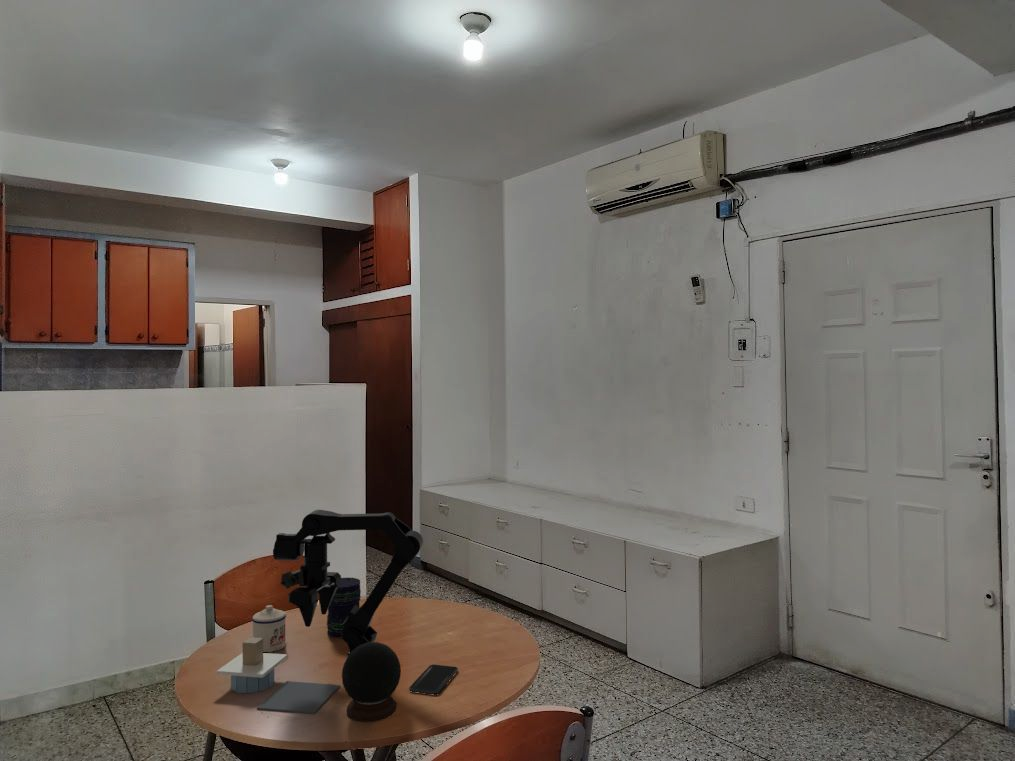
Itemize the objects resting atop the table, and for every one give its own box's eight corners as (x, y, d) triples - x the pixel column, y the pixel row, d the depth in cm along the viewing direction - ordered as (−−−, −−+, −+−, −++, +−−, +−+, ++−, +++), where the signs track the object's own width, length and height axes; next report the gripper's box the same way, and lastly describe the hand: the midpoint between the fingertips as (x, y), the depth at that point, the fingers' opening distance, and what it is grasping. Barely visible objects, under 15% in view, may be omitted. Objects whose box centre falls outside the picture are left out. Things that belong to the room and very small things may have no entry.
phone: (407, 689, 164) (431, 664, 179) (407, 693, 164) (431, 668, 179) (438, 692, 162) (459, 667, 177) (438, 697, 162) (459, 671, 177)
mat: (340, 686, 167) (340, 685, 167) (314, 714, 153) (314, 712, 153) (286, 682, 170) (286, 681, 170) (256, 709, 156) (256, 707, 156)
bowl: (281, 676, 173) (281, 659, 173) (260, 694, 163) (260, 675, 163) (245, 674, 175) (245, 656, 175) (222, 691, 165) (222, 672, 165)
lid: (287, 657, 174) (287, 632, 174) (262, 677, 162) (262, 651, 162) (244, 654, 176) (244, 630, 176) (216, 674, 164) (216, 648, 164)
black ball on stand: (372, 691, 165) (372, 629, 165) (413, 706, 157) (412, 641, 157) (329, 713, 154) (329, 646, 154) (370, 730, 146) (370, 660, 146)
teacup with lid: (274, 655, 187) (274, 612, 187) (245, 652, 189) (245, 610, 189) (297, 639, 199) (297, 599, 199) (270, 636, 201) (270, 596, 201)
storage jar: (349, 639, 198) (349, 588, 198) (320, 636, 201) (320, 585, 201) (366, 628, 207) (366, 578, 207) (338, 624, 210) (338, 576, 210)
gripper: (303, 550, 187) (303, 606, 187) (268, 568, 169) (268, 631, 169) (341, 551, 186) (341, 609, 186) (310, 570, 167) (310, 633, 167)
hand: (316, 620), depth 177 cm, fingers open, 9 cm apart
